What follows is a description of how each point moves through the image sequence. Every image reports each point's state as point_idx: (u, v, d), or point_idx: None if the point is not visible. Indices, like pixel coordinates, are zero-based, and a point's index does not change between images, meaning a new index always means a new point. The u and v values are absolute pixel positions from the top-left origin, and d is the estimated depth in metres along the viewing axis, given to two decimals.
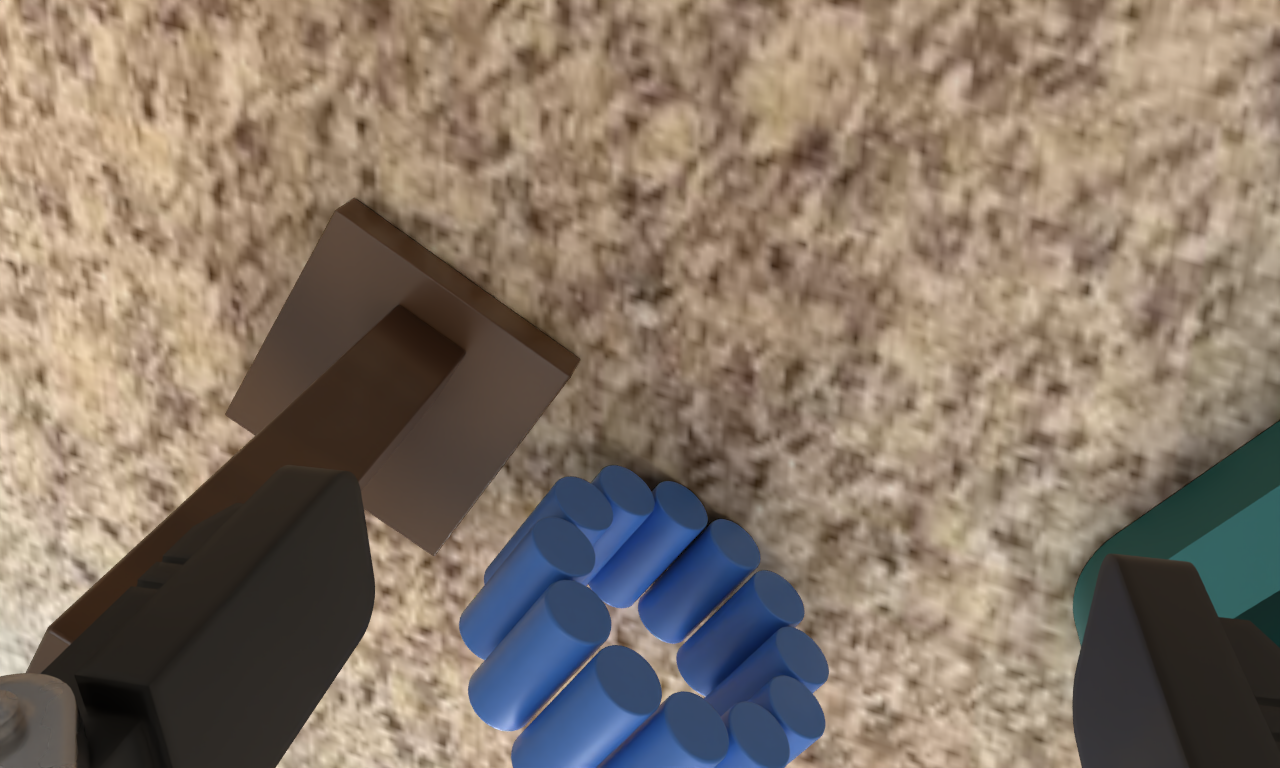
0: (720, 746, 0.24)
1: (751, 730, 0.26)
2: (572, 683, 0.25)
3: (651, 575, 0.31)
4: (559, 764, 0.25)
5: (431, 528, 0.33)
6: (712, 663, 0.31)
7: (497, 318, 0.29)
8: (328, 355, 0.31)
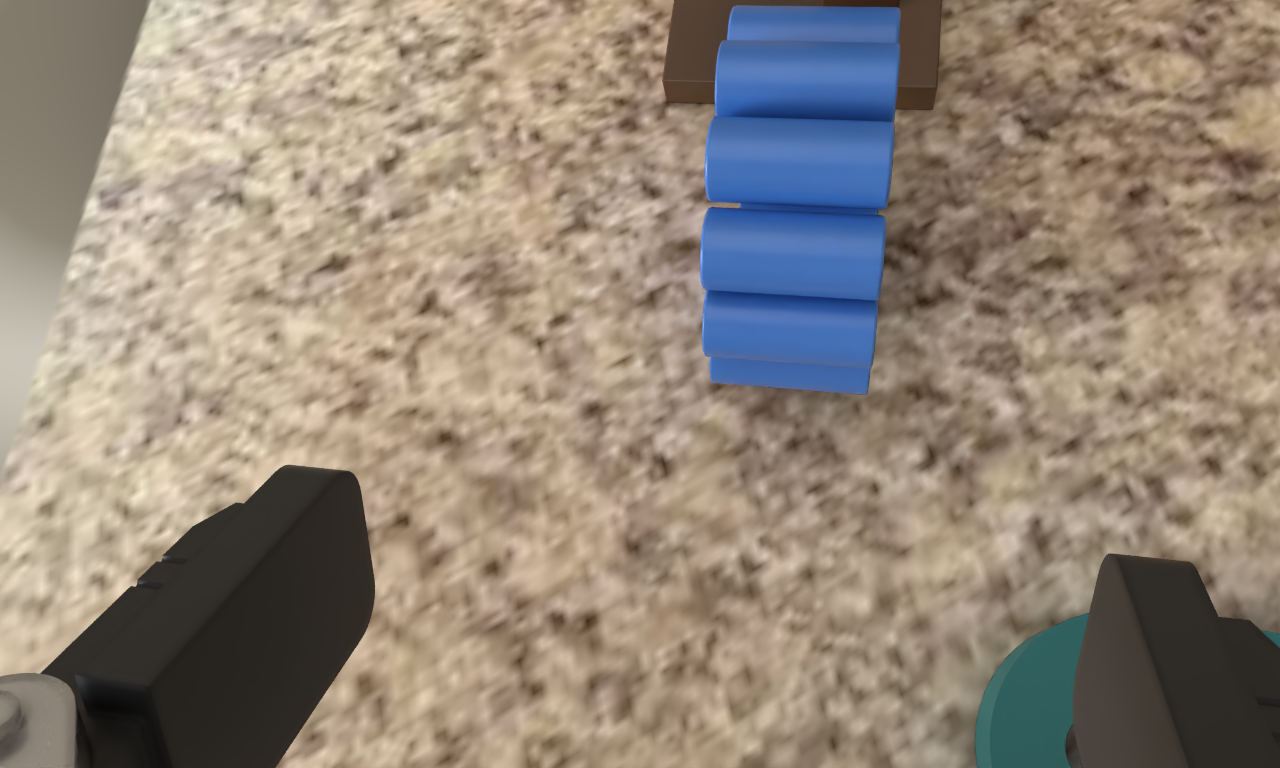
0: None
1: None
2: None
3: None
4: (780, 56, 0.23)
5: (693, 65, 0.33)
6: None
7: (940, 20, 0.32)
8: None
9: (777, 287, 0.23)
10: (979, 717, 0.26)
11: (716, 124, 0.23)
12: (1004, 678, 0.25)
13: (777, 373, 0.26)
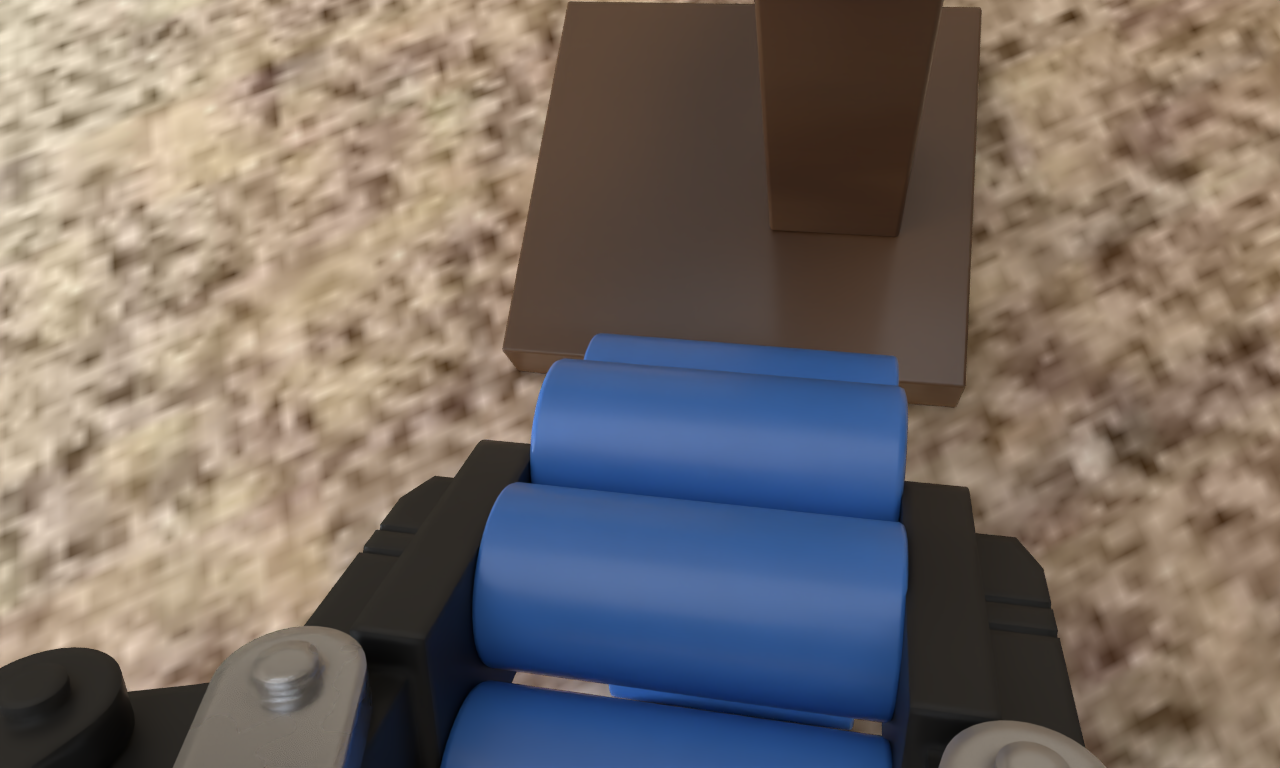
0: None
1: None
2: None
3: None
4: (621, 568, 0.10)
5: (554, 324, 0.20)
6: None
7: (969, 256, 0.19)
8: (758, 80, 0.21)
9: None
10: None
11: (461, 743, 0.09)
12: None
13: None
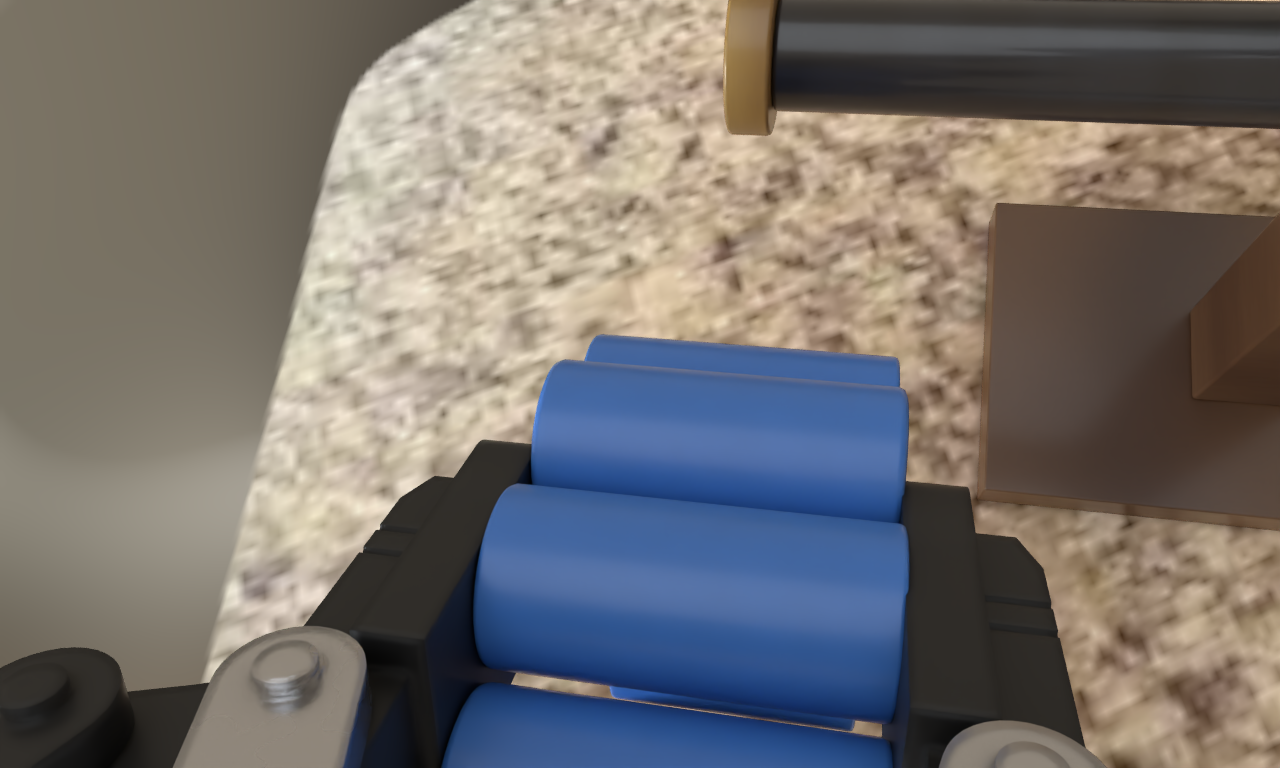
0: None
1: None
2: None
3: None
4: (622, 569, 0.10)
5: (1024, 469, 0.26)
6: None
7: None
8: (1165, 275, 0.27)
9: None
10: None
11: (463, 745, 0.09)
12: None
13: None
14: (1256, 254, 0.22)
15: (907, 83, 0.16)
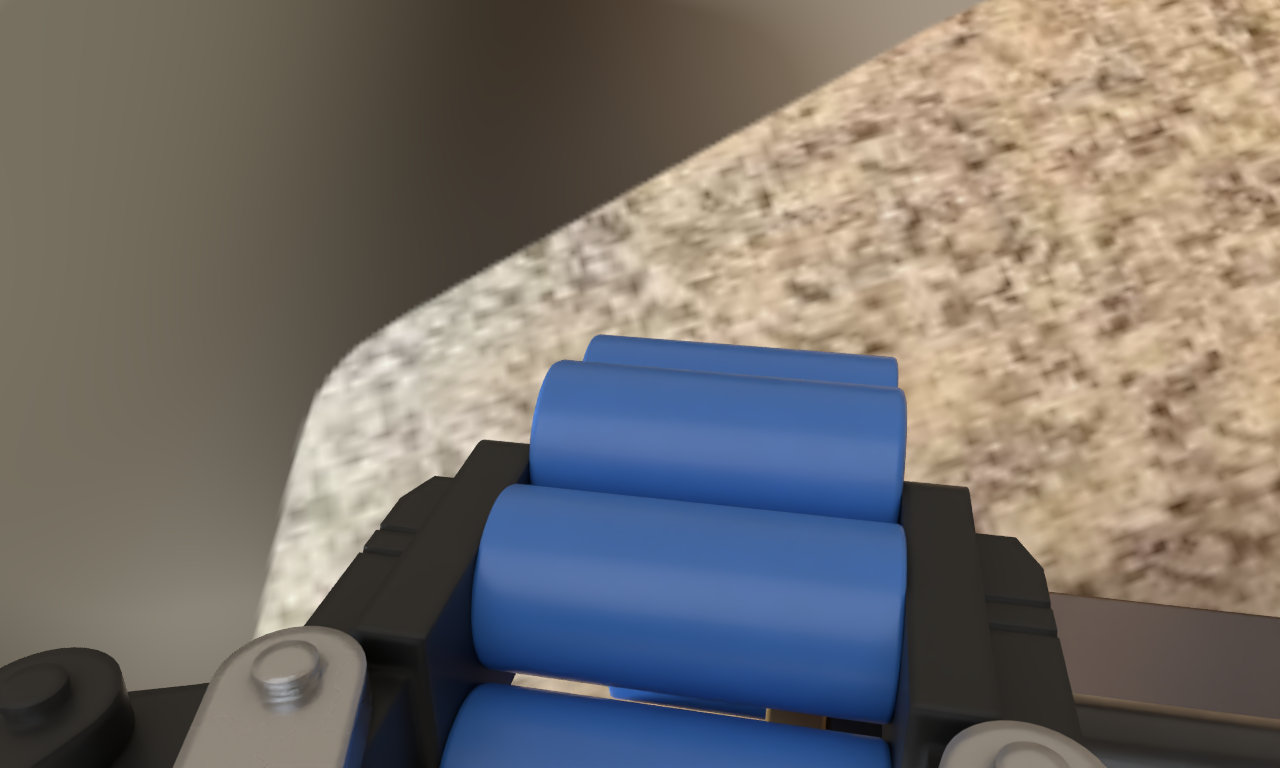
0: None
1: None
2: None
3: None
4: (620, 569, 0.10)
5: None
6: None
7: None
8: (1247, 697, 0.23)
9: None
10: None
11: (461, 745, 0.09)
12: None
13: None
14: None
15: None
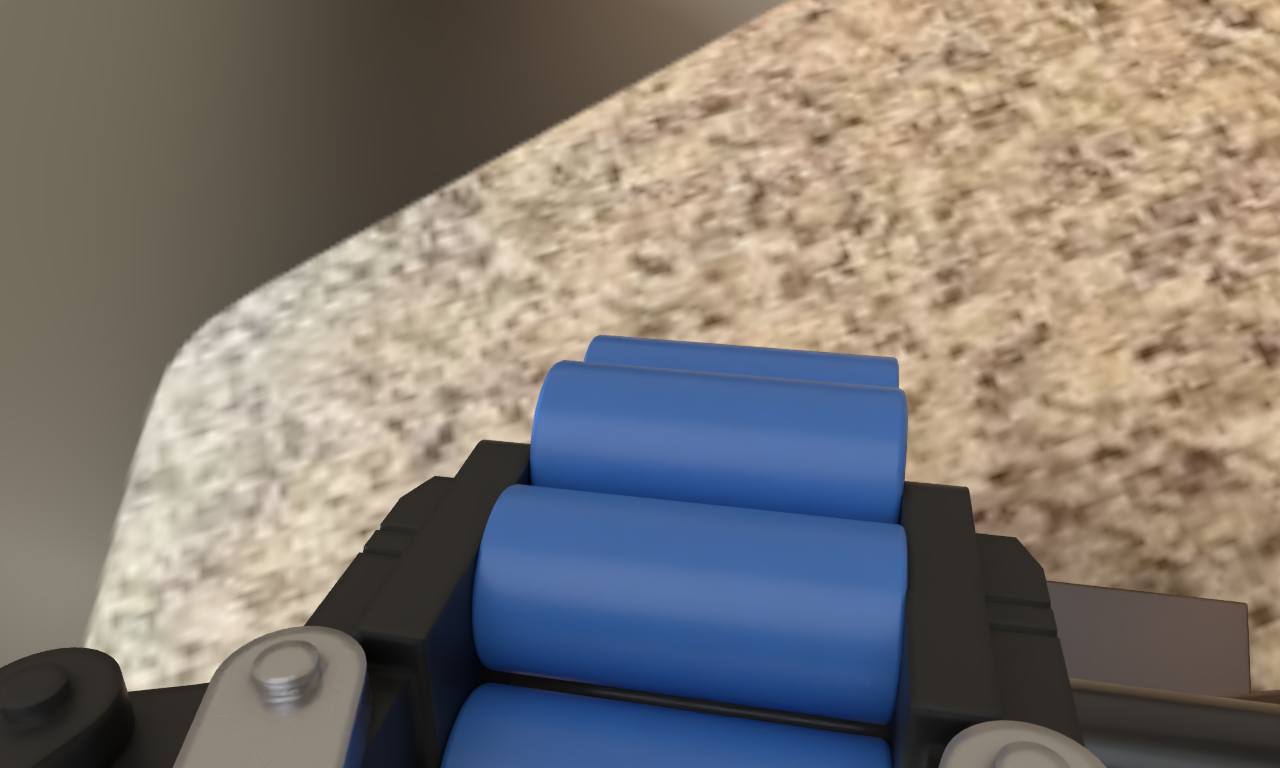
0: None
1: None
2: (795, 514, 0.10)
3: None
4: (621, 570, 0.10)
5: None
6: None
7: None
8: None
9: None
10: None
11: (461, 745, 0.09)
12: None
13: None
14: None
15: None
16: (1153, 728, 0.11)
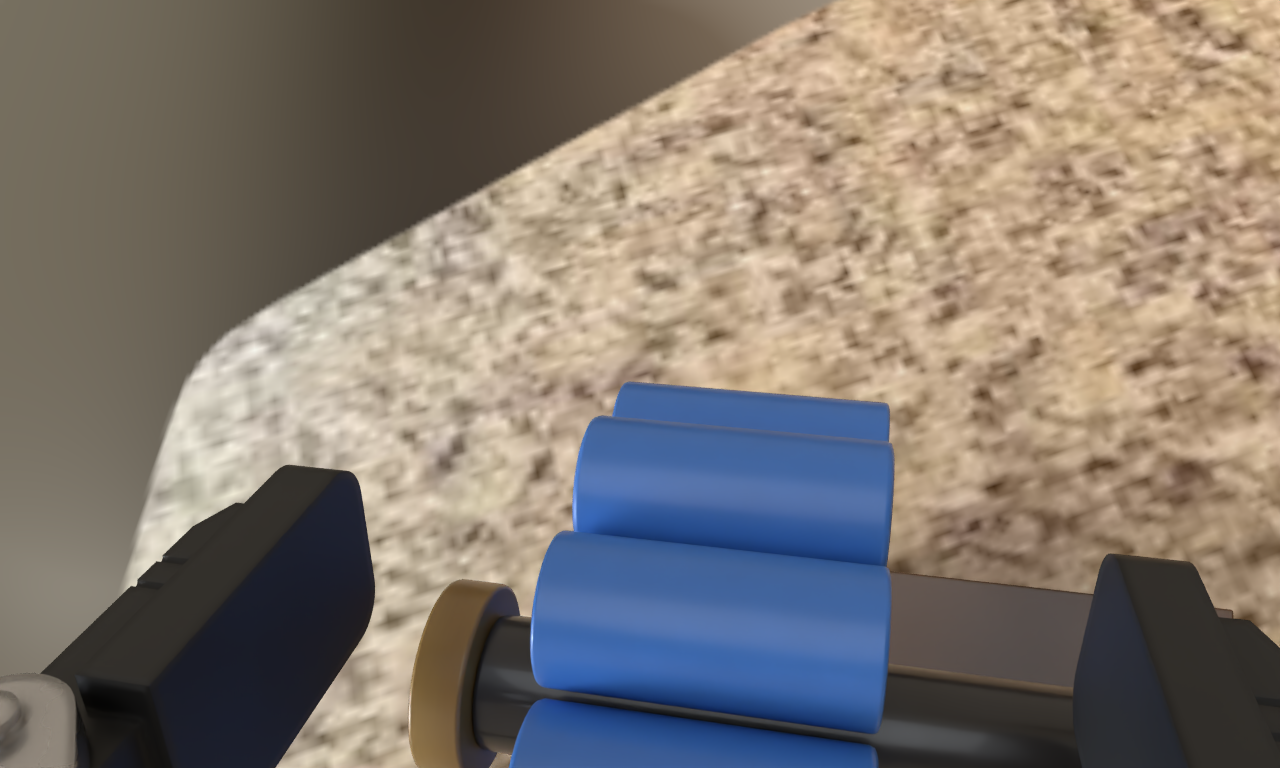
0: None
1: None
2: (798, 556, 0.12)
3: None
4: (654, 609, 0.12)
5: None
6: None
7: None
8: (1039, 668, 0.24)
9: None
10: None
11: (525, 754, 0.11)
12: None
13: None
14: None
15: None
16: None
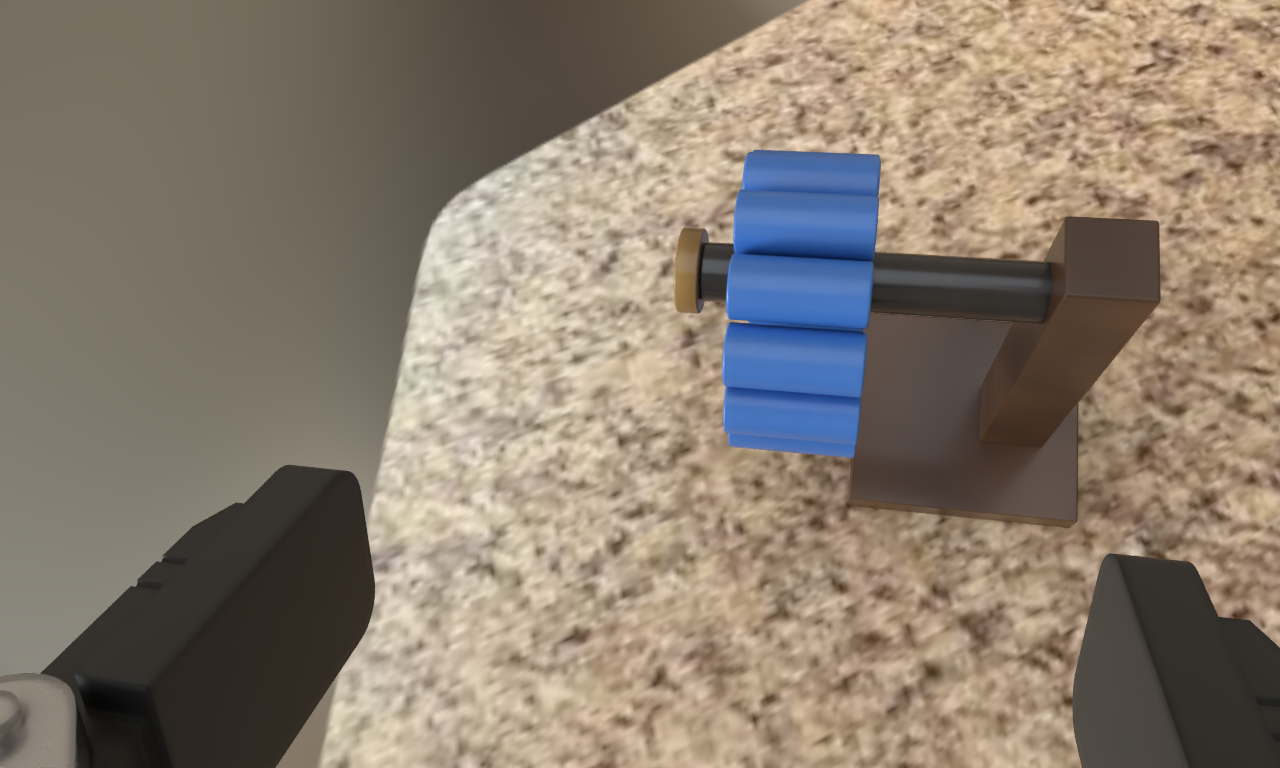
0: (869, 316, 0.29)
1: None
2: None
3: None
4: (785, 208, 0.29)
5: (875, 486, 0.41)
6: None
7: (1076, 456, 0.40)
8: (968, 361, 0.42)
9: (782, 388, 0.30)
10: None
11: (735, 263, 0.29)
12: None
13: (782, 442, 0.33)
14: (998, 359, 0.37)
15: None
16: (975, 263, 0.30)
